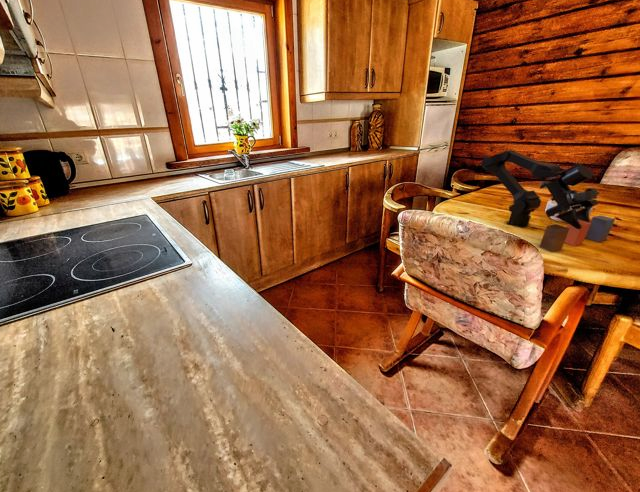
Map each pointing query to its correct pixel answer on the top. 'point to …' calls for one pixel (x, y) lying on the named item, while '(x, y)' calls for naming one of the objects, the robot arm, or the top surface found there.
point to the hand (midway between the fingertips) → (584, 227)
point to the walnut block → (554, 237)
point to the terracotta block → (577, 233)
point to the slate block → (599, 228)
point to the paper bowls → (552, 204)
